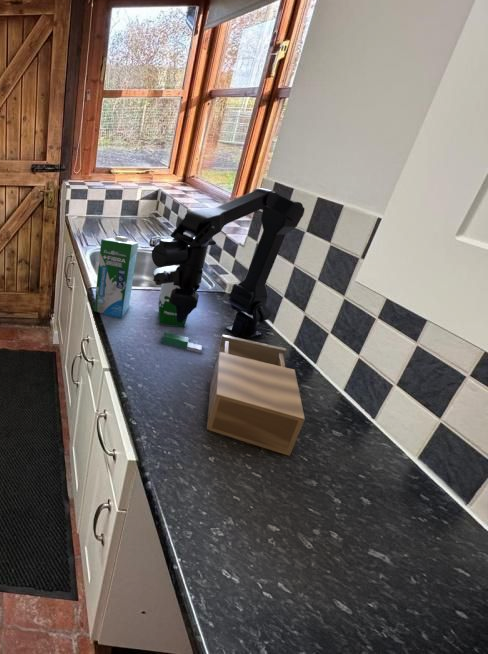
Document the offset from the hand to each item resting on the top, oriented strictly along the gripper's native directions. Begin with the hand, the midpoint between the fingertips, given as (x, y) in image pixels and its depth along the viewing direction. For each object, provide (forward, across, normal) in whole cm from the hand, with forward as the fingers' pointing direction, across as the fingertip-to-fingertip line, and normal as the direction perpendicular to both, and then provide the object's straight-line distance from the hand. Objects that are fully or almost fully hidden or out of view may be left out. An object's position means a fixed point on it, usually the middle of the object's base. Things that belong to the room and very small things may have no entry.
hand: (181, 314), depth 110 cm
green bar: (+10, 0, +2) cm, 10 cm away
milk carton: (+10, -13, -21) cm, 26 cm away
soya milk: (+10, -14, -3) cm, 18 cm away
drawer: (+9, +11, +17) cm, 22 cm away
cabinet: (+10, +22, +17) cm, 30 cm away
